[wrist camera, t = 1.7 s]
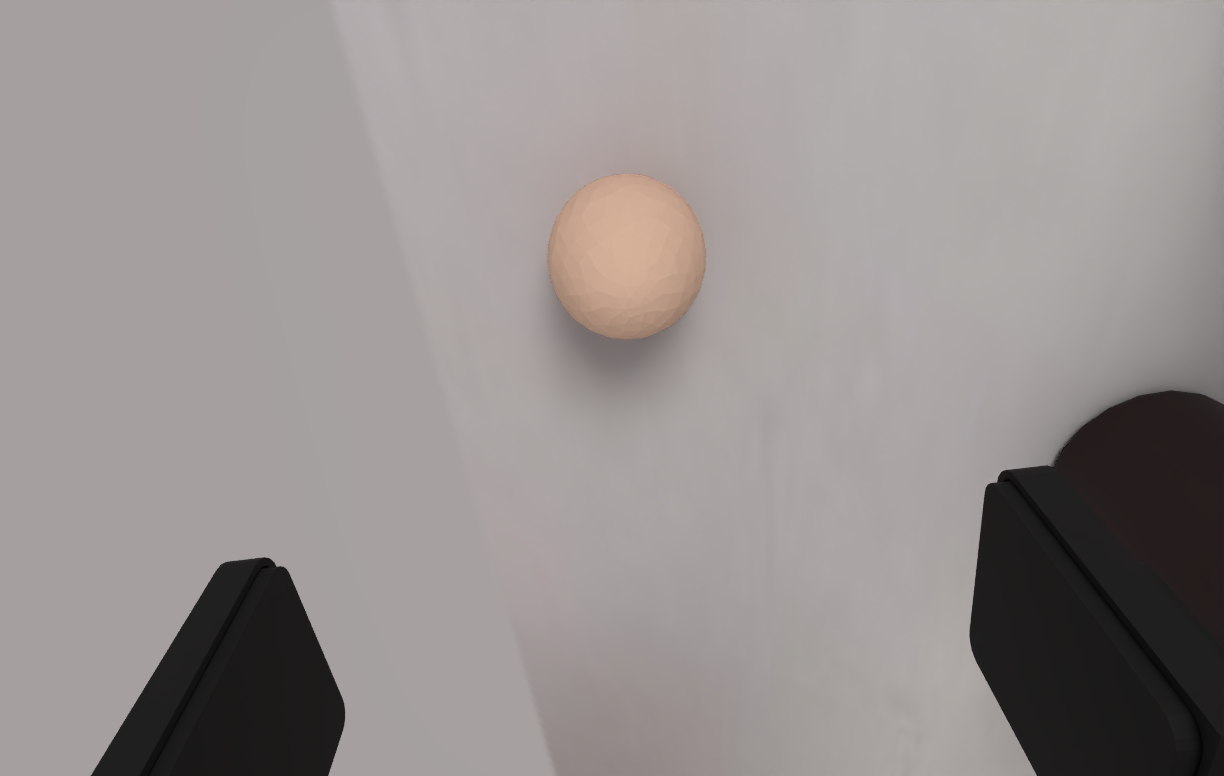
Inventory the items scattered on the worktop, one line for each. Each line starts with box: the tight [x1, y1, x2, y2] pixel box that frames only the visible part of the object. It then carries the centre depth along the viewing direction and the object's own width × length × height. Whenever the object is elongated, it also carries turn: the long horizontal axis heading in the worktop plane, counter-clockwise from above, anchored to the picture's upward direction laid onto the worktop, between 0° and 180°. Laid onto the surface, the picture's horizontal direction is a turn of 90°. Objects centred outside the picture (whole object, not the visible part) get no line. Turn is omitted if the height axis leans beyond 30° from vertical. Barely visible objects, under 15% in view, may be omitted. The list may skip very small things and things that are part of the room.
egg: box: [548, 174, 706, 340], centre depth 23 cm, size 4×4×6 cm
